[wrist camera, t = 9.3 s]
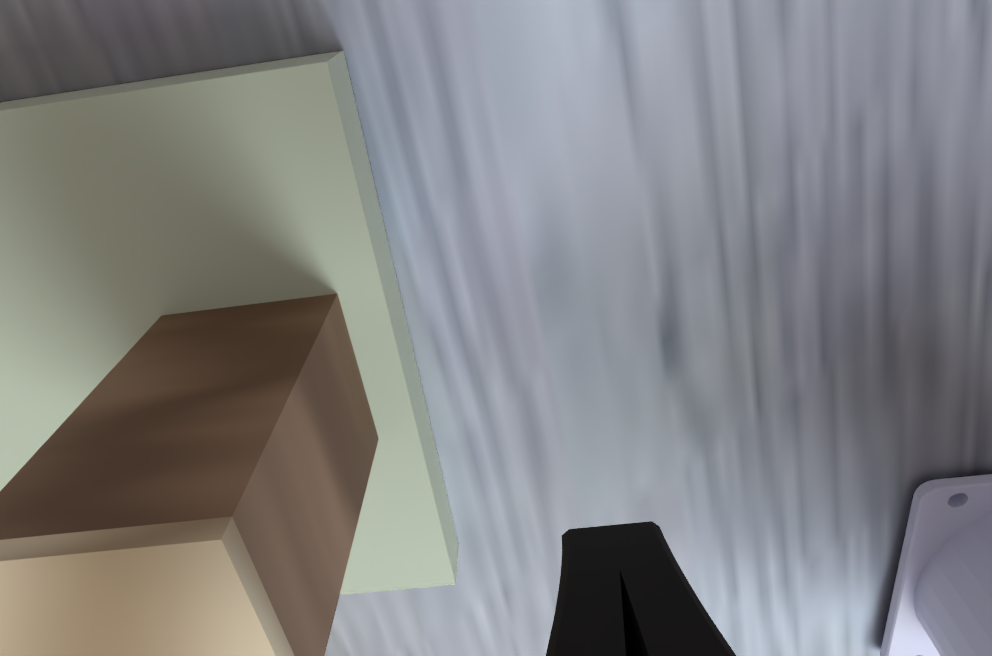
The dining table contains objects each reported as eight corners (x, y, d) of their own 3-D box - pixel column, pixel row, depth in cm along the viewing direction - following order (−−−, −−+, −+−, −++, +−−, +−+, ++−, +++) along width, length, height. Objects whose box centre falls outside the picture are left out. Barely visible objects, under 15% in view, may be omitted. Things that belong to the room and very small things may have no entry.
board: (343, 50, 14) (326, 61, 12) (458, 543, 21) (455, 584, 19) (-285, 145, 15) (-360, 164, 14) (22, 584, 22) (-9, 625, 20)
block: (337, 293, 15) (221, 539, 9) (378, 438, 17) (307, 722, 11) (161, 315, 15) (-70, 567, 9) (221, 455, 17) (64, 741, 11)
